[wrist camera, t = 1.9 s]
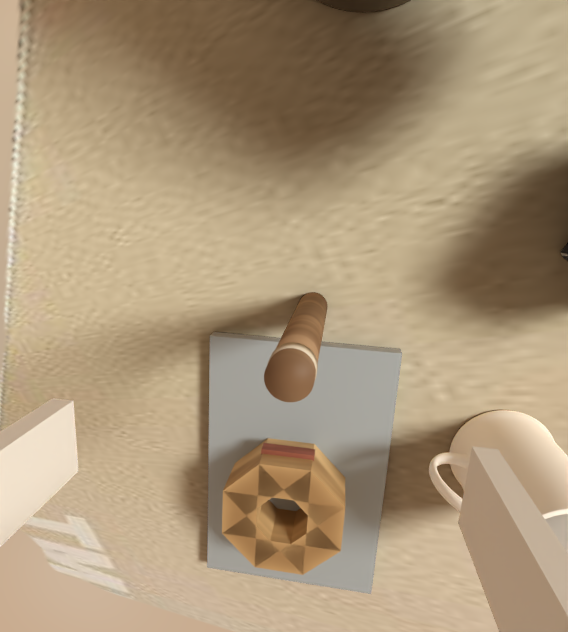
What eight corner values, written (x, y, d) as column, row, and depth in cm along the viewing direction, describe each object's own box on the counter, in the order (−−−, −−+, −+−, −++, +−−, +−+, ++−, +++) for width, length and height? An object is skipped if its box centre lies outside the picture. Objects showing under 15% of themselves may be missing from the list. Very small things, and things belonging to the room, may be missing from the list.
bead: (235, 430, 38) (223, 454, 34) (348, 443, 36) (349, 470, 33) (232, 532, 40) (221, 565, 36) (338, 547, 39) (337, 584, 35)
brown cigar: (298, 290, 35) (263, 351, 20) (329, 292, 35) (317, 356, 19) (297, 319, 36) (261, 400, 20) (326, 322, 35) (313, 405, 20)
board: (213, 331, 37) (209, 335, 36) (400, 349, 35) (402, 353, 34) (210, 557, 43) (207, 567, 42) (370, 583, 41) (371, 593, 40)
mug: (397, 459, 38) (420, 568, 26) (442, 377, 35) (490, 458, 24) (521, 513, 37) (601, 648, 26) (575, 434, 35) (690, 544, 23)
